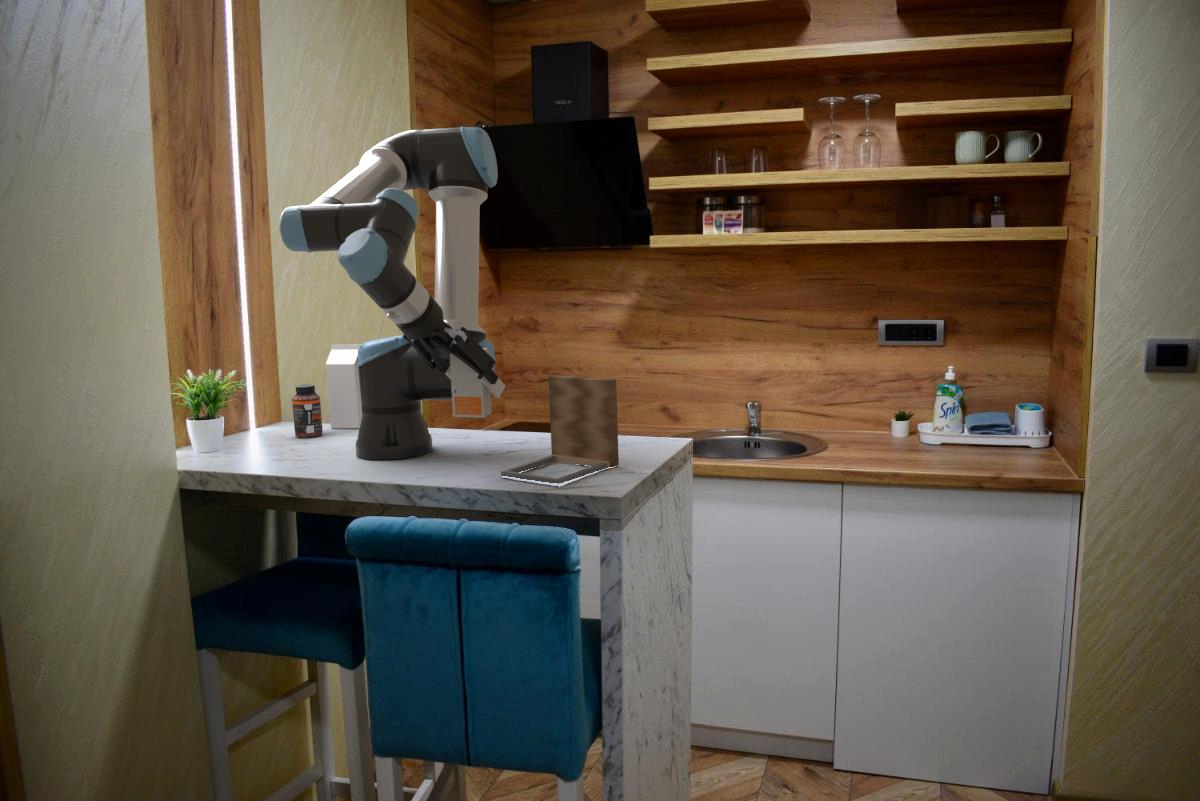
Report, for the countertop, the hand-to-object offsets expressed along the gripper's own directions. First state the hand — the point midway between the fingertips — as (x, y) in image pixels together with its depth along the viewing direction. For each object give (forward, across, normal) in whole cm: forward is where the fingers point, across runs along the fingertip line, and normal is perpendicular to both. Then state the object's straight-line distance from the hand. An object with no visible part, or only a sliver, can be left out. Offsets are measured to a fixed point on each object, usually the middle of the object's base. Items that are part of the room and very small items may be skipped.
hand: (484, 390), depth 169 cm
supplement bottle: (+13, -57, -8) cm, 59 cm away
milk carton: (+22, -57, 0) cm, 61 cm away
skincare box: (0, 0, -6) cm, 6 cm away
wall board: (+19, +13, -2) cm, 23 cm away
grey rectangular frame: (+13, +13, -8) cm, 20 cm away
